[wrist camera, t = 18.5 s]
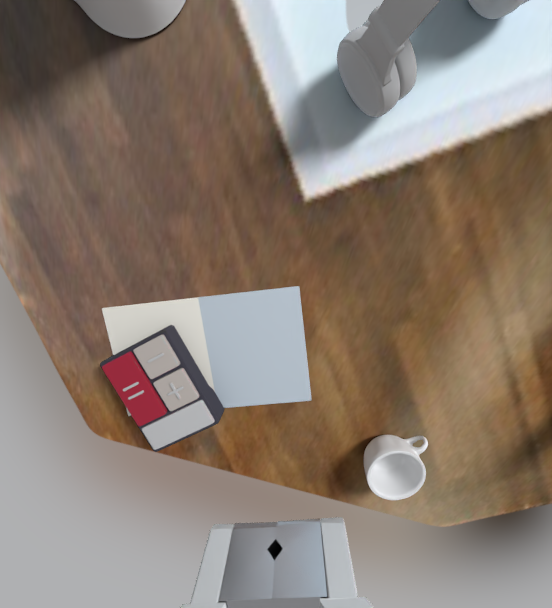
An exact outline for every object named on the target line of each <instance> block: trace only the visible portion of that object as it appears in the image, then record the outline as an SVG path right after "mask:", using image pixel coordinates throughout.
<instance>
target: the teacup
mask: <svg viewBox="0 0 552 608" xmlns="http://www.w3.org/2000/svg"><path fill="white" fill-rule="evenodd" d="M417 440H423V441H424V443H423V445H422V446H421V447H413V446H412V445H413V443H414V442H416V441H417ZM427 446H428V441H427V439H426V438H425V437H424V436H415V437H412V438H408V439H402V438H400V437H397V436H394V435H381V436H378V437H376V438H374V439H373V440H372V441H371V442H370V443H369V444H368V445H367V447H366V449H365V452H364V469H365V474H366V478H367V482H368V485H369V487H370V489H371V490H372V491H373V492H374V493H375V494H376V495H377V496H379V497H381V498H384V499H388V500H401V499H405V498H407V497H410V496H412V495H413V494H415V493H416V492H417V491H418V490H419V489H420V488H421V487H422V485H423V483H424V481H425V477H426V470H425V466H424V464H423V462H422V461H421V459H420V457H419V454H421V453H422V452H424V451H425V450H426V448H427Z"/></svg>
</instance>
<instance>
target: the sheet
mask: <svg viewBox="0 0 552 608" xmlns="http://www.w3.org/2000/svg"><path fill="white" fill-rule="evenodd" d="M102 311H103V316H104V320H105V324H106V328H107V332H108V336H109V340H110V344H111V348H112V352H113V355H115V354H117V353H118V352H120V351H122V350H124V349H126V348H128V347H130V346H132V345H134V344H135V343H137V342H139V341H141V340H143V339H145V338H147V337H149V336H151V335H152V334H154V333H156V332H158V331H160V330H162V329H164V328H166V327H168V326H170V325H173V326H174V327H175V328H176V330H177V332H178V333H179V335H180V337H181V339H182V340H183V342H184V344H185V345H186V347H187V349H188V351H189V352H190V354H191V356H192V357H193V359H194V361H195V363H196V364H197V366H198V368H199V369H200V371H201V373H202V375H203V376H204V378H205V380H206V381H207V383H208V385H209V386H210V387H211V388H212V389H213V390H214V391H215V393H216V395H217V397H218V398H219V400H220V402H221V403H222V405H223V407H224V408H228V407H240V406H252V405H264V404H275V403H287V402H299V401H311V391H310V382H309V372H308V363H307V354H306V345H305V335H304V326H303V317H302V308H301V299H300V289H299V286H296V287H287V288H278V289H269V290H260V291H251V292H242V293H233V294H224V295H215V296H206V297H198V298H189V299H180V300H171V301H162V302H153V303H144V304H135V305H126V306H117V307H108V308H102ZM126 409H127V408H126ZM127 413H128V416H131V414H130V413H129V411H128V409H127Z"/></svg>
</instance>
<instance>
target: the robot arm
mask: <svg viewBox="0 0 552 608" xmlns="http://www.w3.org/2000/svg"><path fill="white" fill-rule="evenodd" d="M74 1H75V2H77V3H78V4H79V5H80V7H81V8H82V9H83V10H84V11H85V13H86V14H87V15H88V16H89V17H90V18H91V19H92V20H93V21H94V22H95V23H96V24H97V25H99V26H100V27H101V28H103V29H104V30H106V31H108V32H110V33H112V34H114V35H117V36H121V37H126V38H141V37H146V36H150V35H152V34H155V33H157V32H159V31H160V30H162V29H163V28H165V27H166V26H167V25H168V24H170V23H171V22H172V21H173V20H174V18H175V17H176V16H177V15H178V13H179V12H180V10H181V9H182V7H183V5H184V3H185V1H186V0H74ZM321 530H322V531H321ZM180 608H374V607H373V606H372V604H371V603H370V602H369V601H368V599H367V598H366V597H358V594H357V589H356V583H355V578H354V572H353V567H352V561H351V556H350V550H349V544H348V539H347V534H346V528H345V523H344V520H343V518H342V517H338V518H323V519H321V523H320V519H307V520H293V521H279V522H268V523H235V524H214V525H213V527H212V529H211V531H210V534H209V537H208V540H207V544H206V548H205V551H204V555H203V559H202V562H201V566H200V569H199V573H198V577H197V580H196V584H195V588H194V591H193V595H192V598H191V602H190V604H183V605H182V606H181V607H180Z"/></svg>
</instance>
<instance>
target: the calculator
mask: <svg viewBox="0 0 552 608" xmlns="http://www.w3.org/2000/svg"><path fill="white" fill-rule="evenodd" d="M100 366H101V368H102V369H103V371H104V373H105V374H106V376H107V377H108V379H109V381H110V382H111V384H112V385H113V387H114V389H115V390H116V392H117V393H118V395H119V397H120V398H121V400H122V401H123V403H124V405H125V406H126V408H127V409H128V411H129V413H130V414H131V416H132V417H133V419H134V420H135V422H136V424H137V425H138V427H139V428H140V430H141V432H142V433H143V435H144V436H145V438H146V440H147V441H148V443H149V444H150V446H151V448H152V449H153V451H155V452H157V451H159V450H162V449H164V448H166V447H168V446H170V445H172V444H175V443H177V442H179V441H181V440H183V439H185V438H188V437H190V436H192V435H194V434H196V433H198V432H201V431H203V430H205V429H207V428H209V427H211V426H213V425H216V424H218V422H219V421H220V418H221V416H222V414H223V412H224V407H223V405H222V403H221V402H220V400H219V398H218V397H217V395H216V393H215V391H214V390H213V389H212V388H211V387H210V386H209V385H208V383H207V381H206V380H205V378H204V376H203V375H202V373H201V371H200V369H199V368H198V366H197V364H196V363H195V361H194V359H193V357H192V356H191V354H190V352H189V351H188V349H187V347H186V345H185V344H184V342H183V340H182V339H181V337H180V335H179V333H178V332H177V330H176V328H175V327H174V326H173V325H170V326H168V327H166V328H164V329H162V330H160V331H158V332H156V333H154V334H152V335H151V336H149V337H147V338H145V339H143V340H141V341H139V342H137V343H135V344H134V345H132V346H130V347H128V348H126V349H124V350H122V351H120V352H118V353H117V354H115V355H113V356H111V357H109V358H108V359H106V360H104V361H102V362H101V363H100Z"/></svg>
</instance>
